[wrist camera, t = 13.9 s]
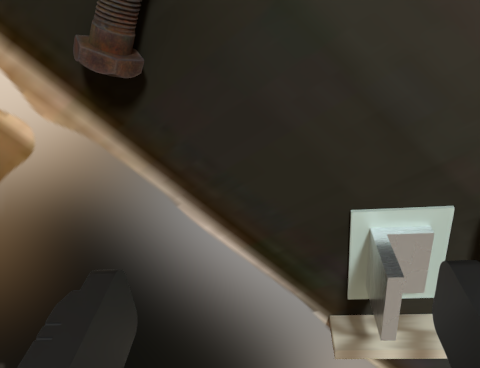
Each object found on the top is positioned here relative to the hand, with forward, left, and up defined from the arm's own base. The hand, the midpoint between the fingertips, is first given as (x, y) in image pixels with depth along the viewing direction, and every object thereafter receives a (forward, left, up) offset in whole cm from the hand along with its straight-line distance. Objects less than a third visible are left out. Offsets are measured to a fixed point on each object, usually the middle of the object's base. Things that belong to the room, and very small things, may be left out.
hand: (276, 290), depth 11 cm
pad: (+12, -22, -28) cm, 38 cm away
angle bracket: (+12, -22, -28) cm, 37 cm away
